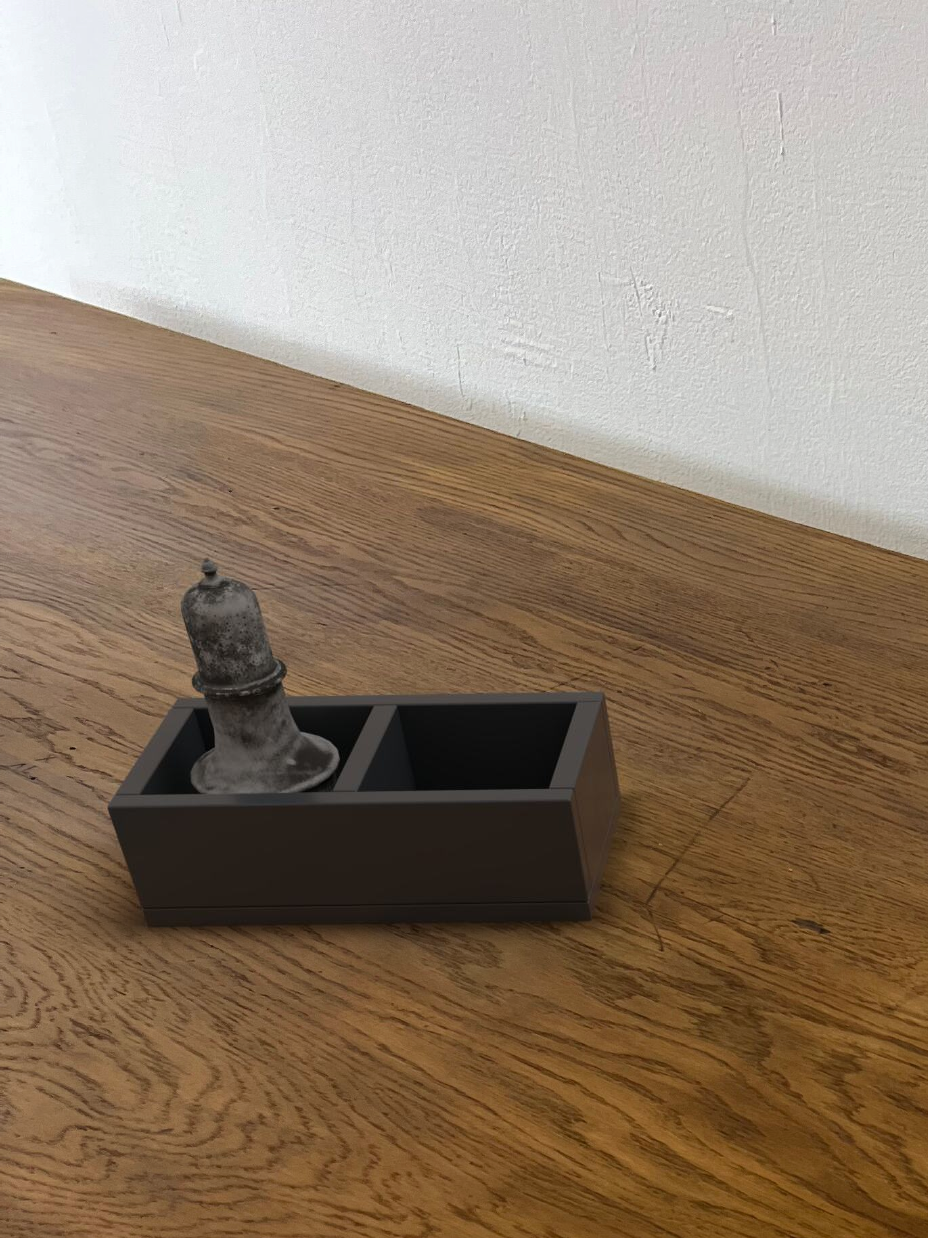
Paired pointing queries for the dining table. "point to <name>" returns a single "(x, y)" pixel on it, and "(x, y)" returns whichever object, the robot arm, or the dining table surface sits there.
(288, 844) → the divided open box
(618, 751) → the dining table surface
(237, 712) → the salt shaker
